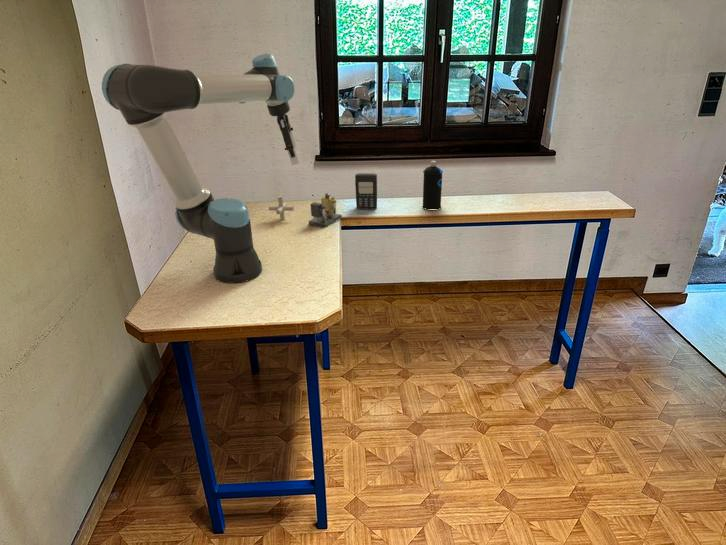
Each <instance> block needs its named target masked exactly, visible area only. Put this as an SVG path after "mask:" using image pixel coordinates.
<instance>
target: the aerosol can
mask: <svg viewBox="0 0 726 545" xmlns="http://www.w3.org/2000/svg"><path fill="white" fill-rule="evenodd" d="M436 163H437V161H436V160H431V161H430V166H428V167H426V168H425V169H423V186H422V188H423V190H422V191H423V192H422V206H421V207H423V208H426V209H439V208H440V209H442V206H441V204H442V189H443V188H442V187H443V173H444V171H443V170H442V168H441V167H439V166H437V165H436ZM423 208H422V209H423ZM440 209H439V210H440Z"/></svg>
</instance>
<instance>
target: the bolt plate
mask: <svg viewBox="0 0 726 545" xmlns="http://www.w3.org/2000/svg"><path fill="white" fill-rule="evenodd" d="M310 216H311V217H313V218H311V219H310V220H308V225H309V226H314V227H320V228H324V227H326V228H328V227H329V226H331V225H333V224H334V223H336V222H337V221H336V220H338V219H339V220H341V219H342V218H341V217H342V214H339V213H336V214H334V213H333V214H331V215H329V213H328V211H326V210H325V206H322V204H321V202H312V203H310ZM340 218H341V219H340ZM339 220H338V221H339ZM335 221H336V222H335ZM333 222H334V223H333ZM332 223H333V224H332ZM330 224H331V225H330ZM328 225H329V226H328Z"/></svg>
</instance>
